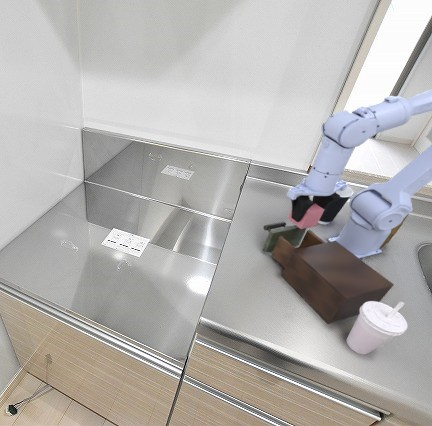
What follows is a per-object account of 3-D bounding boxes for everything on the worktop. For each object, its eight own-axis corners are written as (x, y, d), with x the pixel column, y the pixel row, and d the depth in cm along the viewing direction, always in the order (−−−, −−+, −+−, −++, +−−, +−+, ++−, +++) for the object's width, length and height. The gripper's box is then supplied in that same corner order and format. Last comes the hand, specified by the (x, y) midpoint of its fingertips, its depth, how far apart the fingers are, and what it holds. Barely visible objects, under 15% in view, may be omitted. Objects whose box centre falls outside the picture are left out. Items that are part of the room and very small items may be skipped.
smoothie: (364, 367, 53) (408, 323, 45) (330, 337, 58) (365, 292, 50) (386, 353, 55) (432, 308, 47) (352, 325, 60) (389, 280, 52)
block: (302, 215, 75) (309, 199, 72) (316, 226, 72) (324, 209, 69) (287, 218, 75) (294, 202, 72) (300, 229, 71) (308, 212, 68)
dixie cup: (338, 217, 89) (355, 186, 82) (334, 231, 84) (352, 199, 77) (308, 208, 93) (323, 178, 86) (303, 221, 88) (318, 190, 81)
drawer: (252, 239, 80) (258, 220, 76) (284, 232, 82) (292, 213, 78) (297, 286, 67) (309, 265, 63) (334, 276, 69) (347, 256, 65)
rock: (396, 250, 74) (419, 233, 77) (385, 219, 73) (409, 203, 76) (350, 247, 84) (372, 232, 87) (340, 220, 84) (363, 206, 86)
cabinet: (281, 275, 71) (293, 250, 66) (320, 265, 73) (335, 240, 68) (327, 324, 60) (346, 298, 55) (372, 310, 63) (394, 284, 58)
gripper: (338, 156, 69) (315, 204, 77) (285, 165, 66) (267, 213, 74) (366, 170, 63) (338, 220, 71) (310, 180, 60) (287, 230, 69)
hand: (304, 217), depth 72 cm, fingers closed on block, 4 cm apart
